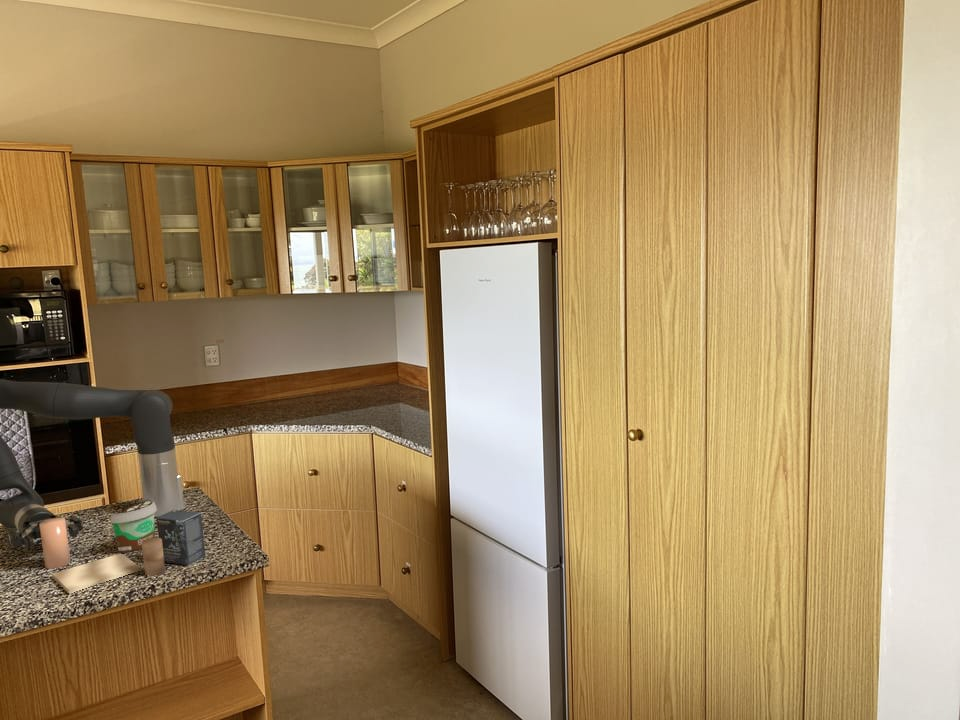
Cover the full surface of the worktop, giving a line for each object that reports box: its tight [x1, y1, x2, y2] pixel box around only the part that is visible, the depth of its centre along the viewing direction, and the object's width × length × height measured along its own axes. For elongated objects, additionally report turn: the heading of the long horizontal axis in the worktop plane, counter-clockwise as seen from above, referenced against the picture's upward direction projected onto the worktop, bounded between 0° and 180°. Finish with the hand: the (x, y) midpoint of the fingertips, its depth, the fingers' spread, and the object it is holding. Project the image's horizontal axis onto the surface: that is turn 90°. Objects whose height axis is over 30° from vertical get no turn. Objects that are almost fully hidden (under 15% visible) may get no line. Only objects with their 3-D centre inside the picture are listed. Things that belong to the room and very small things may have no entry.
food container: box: [110, 497, 157, 554], centre depth 169 cm, size 12×6×10 cm, turn 168°
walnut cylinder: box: [141, 537, 166, 577], centre depth 154 cm, size 4×4×7 cm
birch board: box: [52, 553, 141, 595], centre depth 154 cm, size 14×12×1 cm
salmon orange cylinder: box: [39, 517, 71, 570], centre depth 161 cm, size 5×5×10 cm
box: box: [156, 509, 206, 567], centre depth 160 cm, size 8×6×11 cm
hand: (54, 538), depth 161 cm, fingers open, 8 cm apart
